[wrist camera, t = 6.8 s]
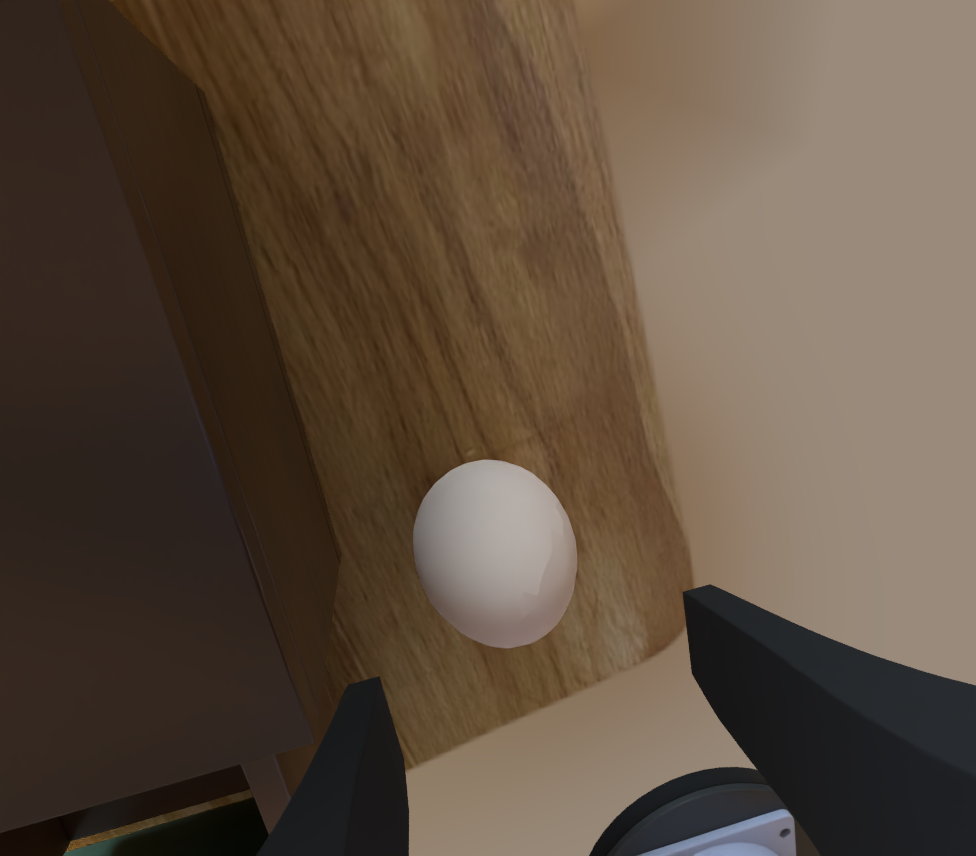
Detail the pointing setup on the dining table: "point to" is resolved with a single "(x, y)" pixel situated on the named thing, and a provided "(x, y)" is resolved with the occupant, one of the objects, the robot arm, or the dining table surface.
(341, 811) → the robot arm
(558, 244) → the dining table surface
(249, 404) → the cabinet
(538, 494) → the egg
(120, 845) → the drawer
